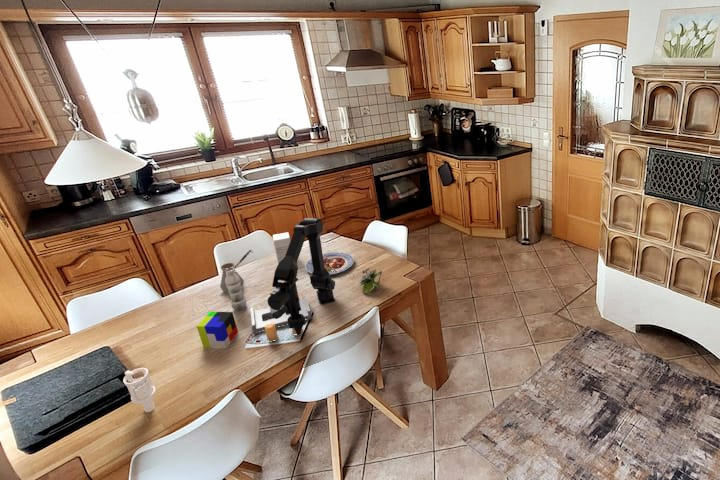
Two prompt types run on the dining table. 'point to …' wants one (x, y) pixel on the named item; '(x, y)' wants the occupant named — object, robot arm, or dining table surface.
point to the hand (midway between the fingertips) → (297, 329)
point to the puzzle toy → (217, 329)
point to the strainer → (140, 389)
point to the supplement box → (281, 245)
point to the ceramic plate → (333, 262)
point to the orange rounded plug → (271, 332)
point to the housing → (263, 313)
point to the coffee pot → (229, 265)
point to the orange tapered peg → (295, 331)
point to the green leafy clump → (369, 280)
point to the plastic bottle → (235, 289)
